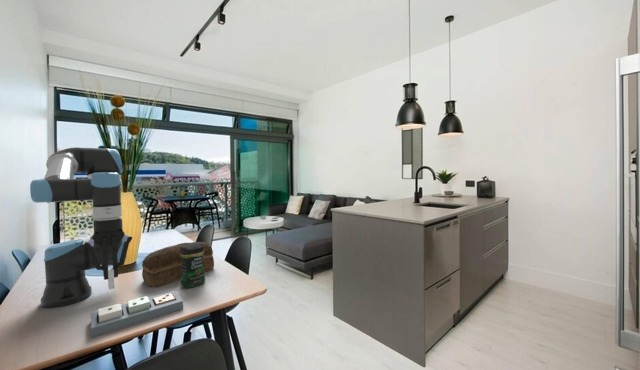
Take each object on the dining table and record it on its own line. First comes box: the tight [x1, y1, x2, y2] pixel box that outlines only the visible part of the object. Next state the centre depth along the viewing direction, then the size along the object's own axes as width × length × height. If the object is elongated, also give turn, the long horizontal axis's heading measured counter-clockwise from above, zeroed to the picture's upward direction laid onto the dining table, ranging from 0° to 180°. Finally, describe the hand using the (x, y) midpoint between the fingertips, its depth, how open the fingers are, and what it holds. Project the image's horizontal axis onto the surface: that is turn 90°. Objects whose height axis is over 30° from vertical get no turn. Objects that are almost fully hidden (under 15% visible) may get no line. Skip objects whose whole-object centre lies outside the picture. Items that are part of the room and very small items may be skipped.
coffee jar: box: [180, 243, 206, 289], centre depth 121 cm, size 10×8×19 cm
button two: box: [126, 295, 150, 314], centre depth 95 cm, size 6×6×3 cm
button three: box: [153, 293, 175, 306], centre depth 101 cm, size 6×6×3 cm
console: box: [90, 290, 184, 338], centre depth 95 cm, size 26×12×3 cm, turn 131°
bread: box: [141, 241, 215, 288], centre depth 134 cm, size 15×32×16 cm, turn 142°
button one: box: [97, 303, 122, 322], centre depth 90 cm, size 6×6×3 cm
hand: (111, 287), depth 90 cm, fingers closed
